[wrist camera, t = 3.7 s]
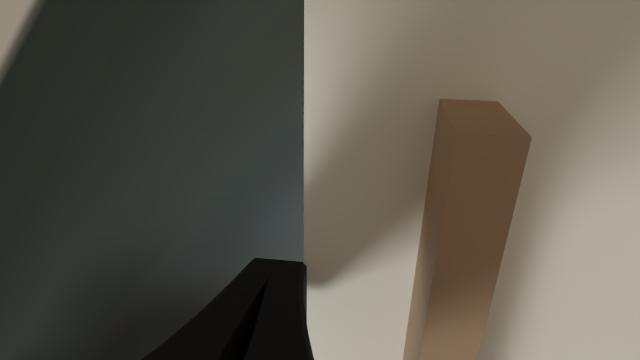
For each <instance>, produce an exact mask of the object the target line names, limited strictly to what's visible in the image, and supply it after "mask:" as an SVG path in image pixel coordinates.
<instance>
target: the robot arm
mask: <svg viewBox="0 0 640 360" xmlns="http://www.w3.org/2000/svg"><path fill="white" fill-rule="evenodd" d="M141 360H314V357H313V353H312V348H311V344H310V339H309V334H308V328H307V266H306V265H305V264H304V263H303V262H296V261H285V260H273V259H262V258H255V259H253V260H252V261H251V262H250V263H249V264H248V265H247V266H246V267H245V268H244V269H243V270H242V271H241V272H240V273H239V274H238V275H237V276H236V277H235V279H234V280H233V281H232V282H231V283H230V284H229V285H228V286H227V287H226V288H225V289H224V290H223V291H222V292H221V293H219V294H218V295H217V296H216V297H215V298H214V299H213V300H212V301H211V302H210V303H209V304H208V305H207V306H206V307H205V308H204V309H203V310H202V311H200V312H199V313H198V314H197V315H196V316H195V317H194V318H192V319H191V320H190V321H189V322H188V323H187V324H185V325H184V326H183V327H182V328H181V329H180V330H178V331H177V332H176V333H175V334H174V335H173V336H171V337H170V338H169V339H168V340H166V341H165V342H164V343H163V344H161V345H160V346H159V347H157V348H156V349H155V350H153V351H152V352H151V353H149V354H148V355H147V356H145V357H144V358H143V359H141Z"/></svg>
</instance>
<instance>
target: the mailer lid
mask: <svg viewBox="0 0 640 360" xmlns="http://www.w3.org/2000/svg"><path fill="white" fill-rule="evenodd" d="M304 264H305V265H306V266H307V328H308V334H309V339H310V344H311V348H312V353H313V357H314V360H640V0H304Z"/></svg>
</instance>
